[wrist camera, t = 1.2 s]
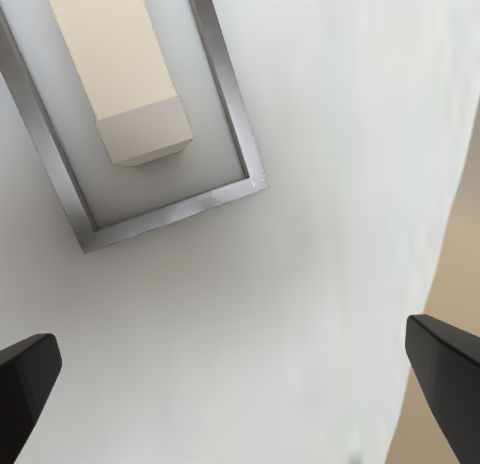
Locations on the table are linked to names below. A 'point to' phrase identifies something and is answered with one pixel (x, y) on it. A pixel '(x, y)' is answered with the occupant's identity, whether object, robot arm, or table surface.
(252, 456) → the table surface
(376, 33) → the table surface
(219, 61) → the holder frame
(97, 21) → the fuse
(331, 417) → the table surface
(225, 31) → the table surface
